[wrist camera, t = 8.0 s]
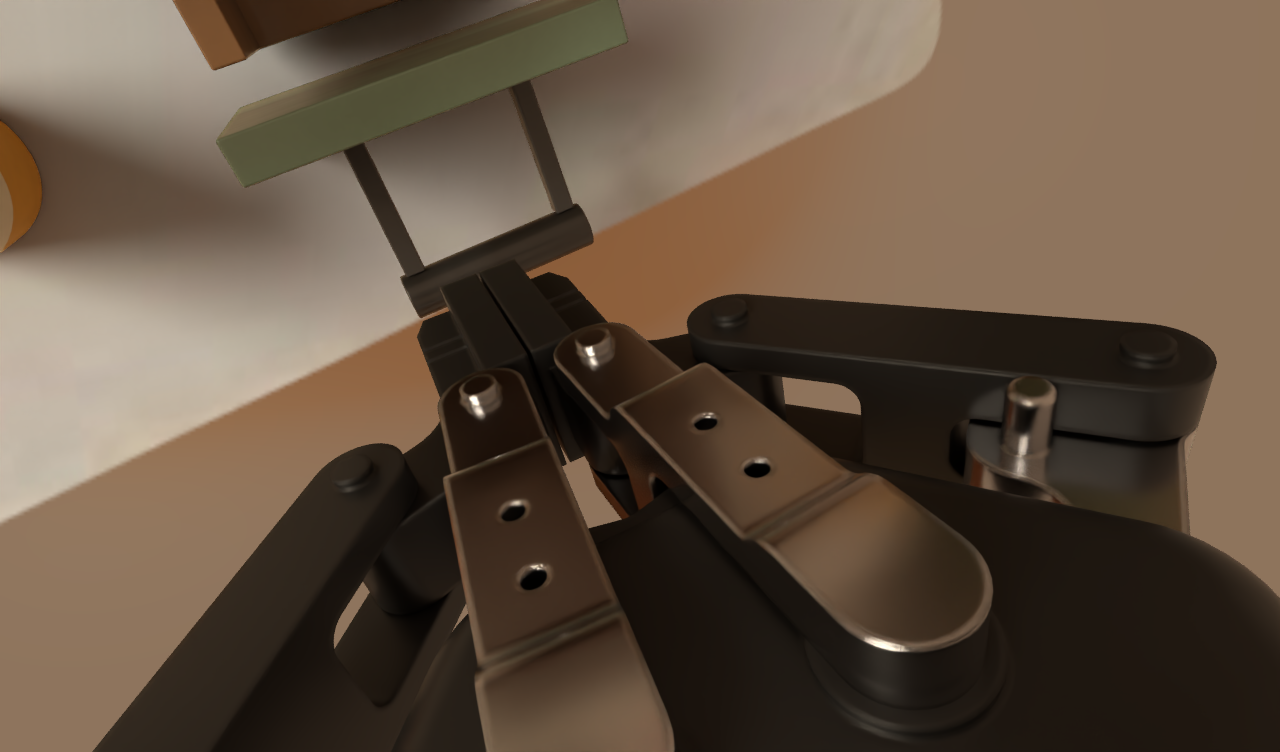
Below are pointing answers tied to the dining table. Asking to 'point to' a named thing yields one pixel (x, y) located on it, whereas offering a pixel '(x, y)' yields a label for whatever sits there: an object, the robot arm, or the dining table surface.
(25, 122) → the dining table surface
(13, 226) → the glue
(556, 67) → the drawer
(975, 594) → the robot arm
